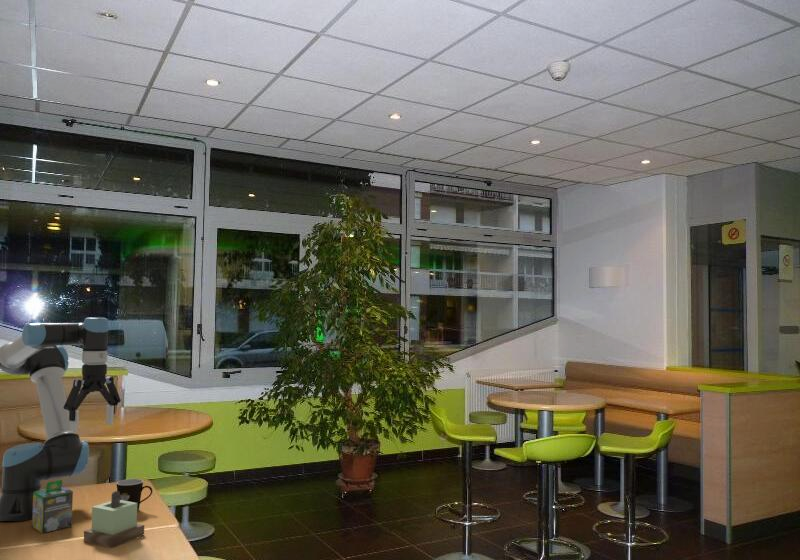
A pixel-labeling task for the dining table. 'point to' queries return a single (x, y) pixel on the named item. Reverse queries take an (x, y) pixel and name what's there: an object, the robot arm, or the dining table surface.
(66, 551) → the dining table surface
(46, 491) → the chalk box
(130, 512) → the green square socket block
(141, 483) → the coffee mug
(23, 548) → the dining table surface
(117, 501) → the rod stand
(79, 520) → the dining table surface
